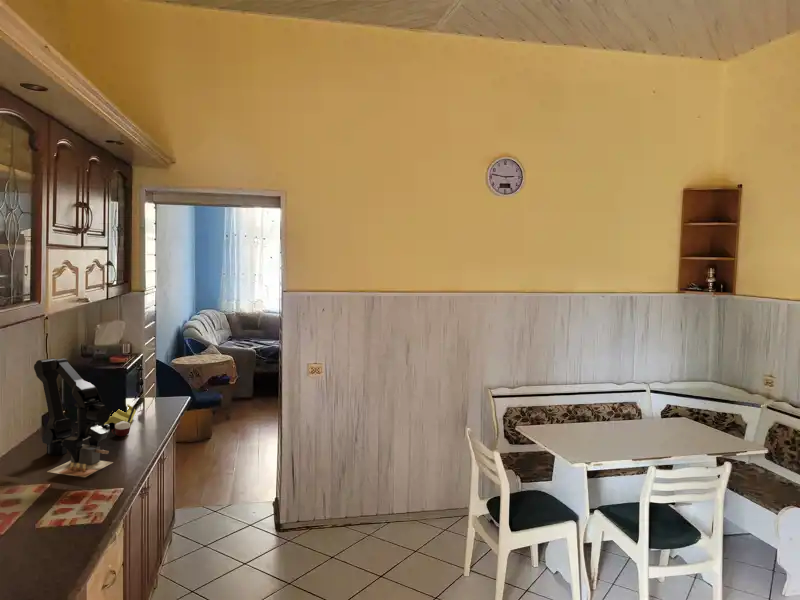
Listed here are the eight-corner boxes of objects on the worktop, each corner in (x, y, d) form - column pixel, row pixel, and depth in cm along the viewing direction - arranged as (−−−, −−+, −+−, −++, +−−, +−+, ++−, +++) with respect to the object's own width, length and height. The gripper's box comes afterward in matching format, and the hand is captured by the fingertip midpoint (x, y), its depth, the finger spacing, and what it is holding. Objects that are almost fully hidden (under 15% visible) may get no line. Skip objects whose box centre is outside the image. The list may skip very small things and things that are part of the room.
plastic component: (130, 423, 286) (109, 414, 283) (123, 437, 286) (101, 428, 283) (137, 408, 304) (117, 400, 301) (130, 421, 305) (110, 413, 302)
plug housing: (70, 462, 235) (71, 447, 235) (79, 458, 240) (79, 443, 239) (103, 466, 233) (103, 451, 232) (111, 462, 237) (111, 447, 237)
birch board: (46, 475, 225) (46, 471, 225) (77, 461, 241) (77, 457, 241) (84, 481, 222) (84, 476, 222) (113, 466, 238) (113, 462, 238)
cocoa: (111, 438, 271) (110, 412, 269) (113, 433, 277) (111, 408, 275) (134, 436, 274) (133, 410, 272) (135, 431, 280) (135, 406, 278)
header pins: (70, 470, 227) (70, 462, 227) (71, 469, 228) (71, 461, 228) (84, 472, 226) (84, 464, 226) (86, 471, 227) (86, 463, 227)
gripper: (87, 428, 225) (87, 469, 226) (120, 414, 243) (119, 453, 244) (60, 424, 227) (60, 465, 228) (95, 411, 245) (94, 450, 246)
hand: (85, 458), depth 237 cm, fingers open, 9 cm apart
